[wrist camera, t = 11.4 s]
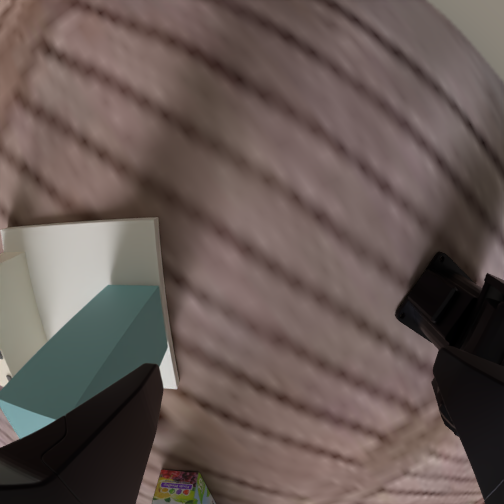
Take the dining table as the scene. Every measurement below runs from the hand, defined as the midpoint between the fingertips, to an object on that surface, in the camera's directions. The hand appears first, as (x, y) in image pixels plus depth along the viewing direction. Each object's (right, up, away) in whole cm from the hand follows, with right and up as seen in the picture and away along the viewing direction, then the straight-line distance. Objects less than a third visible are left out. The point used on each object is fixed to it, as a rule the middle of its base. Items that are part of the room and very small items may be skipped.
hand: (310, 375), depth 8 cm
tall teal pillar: (-10, -1, +13) cm, 16 cm away
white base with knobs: (-16, -1, +14) cm, 21 cm away
